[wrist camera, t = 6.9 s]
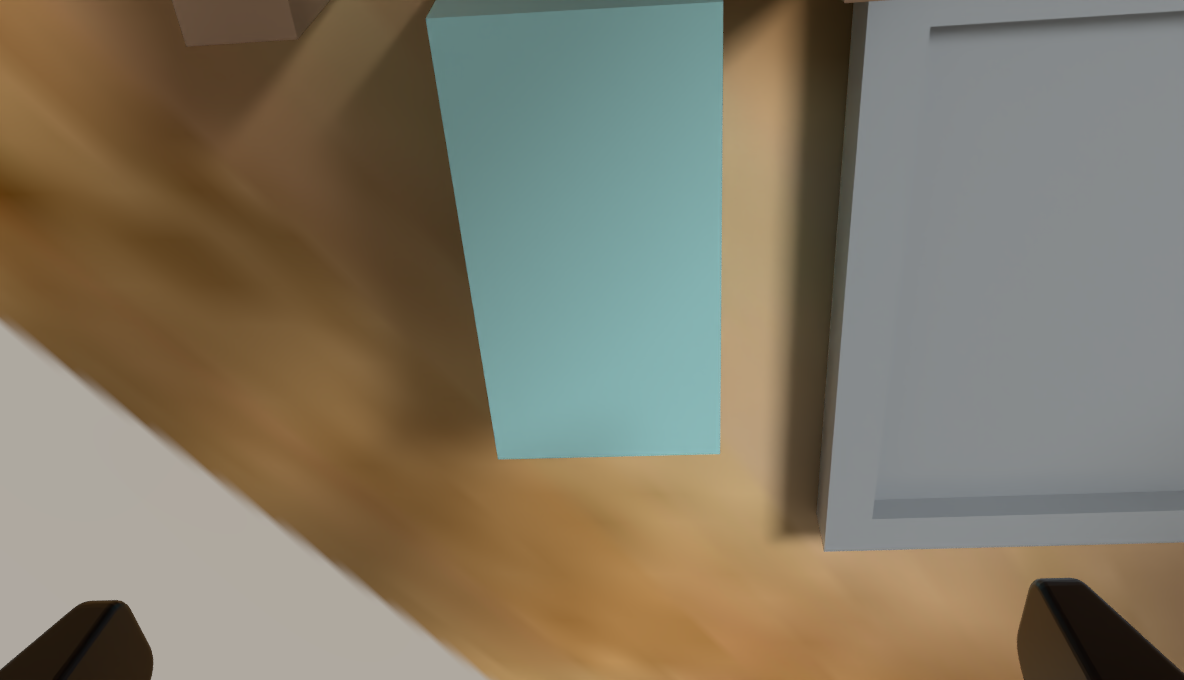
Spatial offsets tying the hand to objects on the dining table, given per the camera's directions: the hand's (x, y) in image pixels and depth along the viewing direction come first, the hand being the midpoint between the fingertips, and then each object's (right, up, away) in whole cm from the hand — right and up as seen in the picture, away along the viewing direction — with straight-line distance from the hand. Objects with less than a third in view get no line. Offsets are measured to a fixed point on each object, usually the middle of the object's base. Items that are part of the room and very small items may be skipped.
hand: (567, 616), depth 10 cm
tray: (+11, +4, +10) cm, 15 cm away
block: (0, +8, +5) cm, 10 cm away
